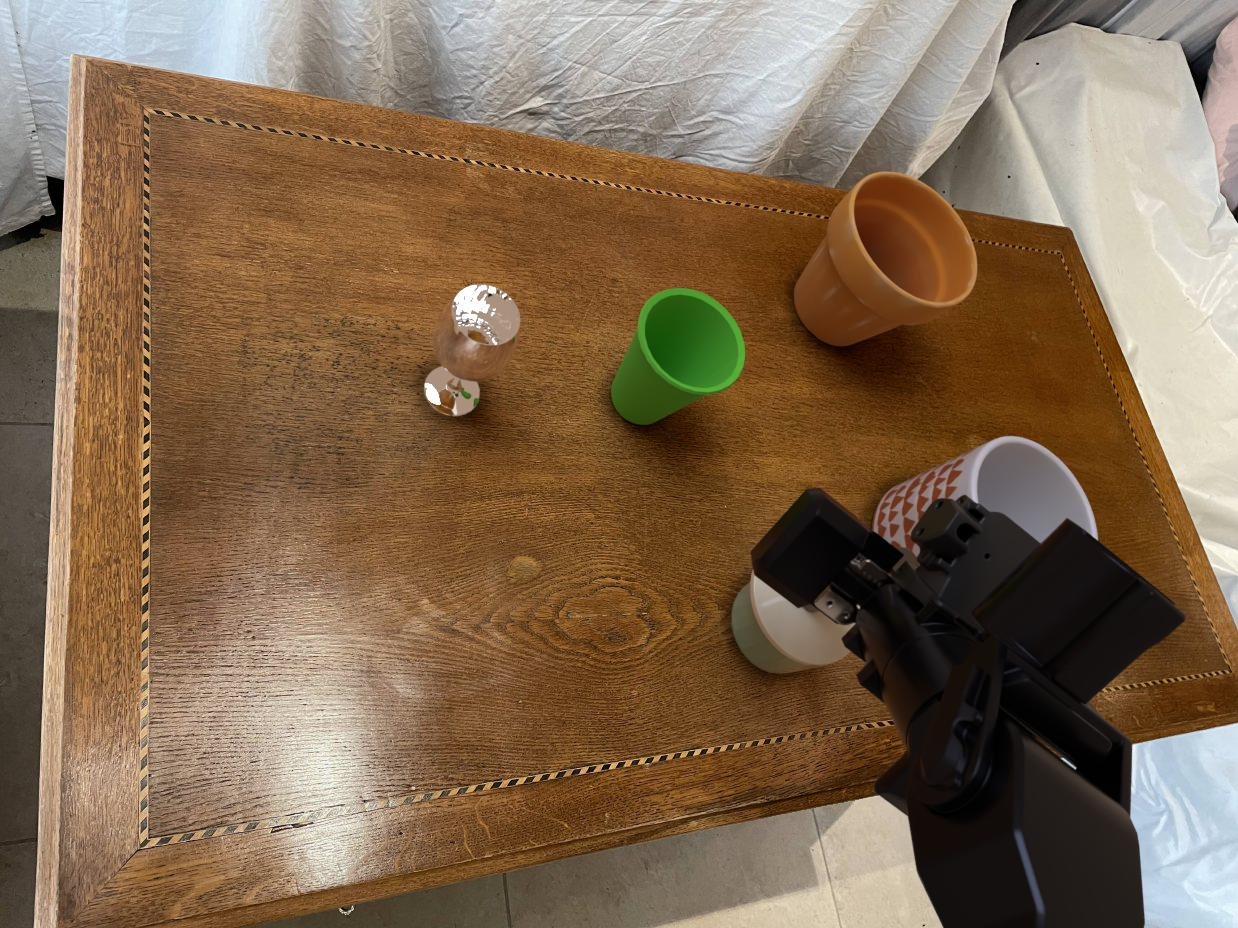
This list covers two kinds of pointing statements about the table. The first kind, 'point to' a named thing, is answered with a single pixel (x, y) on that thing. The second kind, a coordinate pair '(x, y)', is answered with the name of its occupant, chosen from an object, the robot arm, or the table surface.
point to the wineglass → (471, 347)
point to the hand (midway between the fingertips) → (868, 564)
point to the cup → (677, 356)
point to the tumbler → (758, 639)
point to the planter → (991, 491)
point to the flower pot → (885, 262)
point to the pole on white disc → (803, 623)
